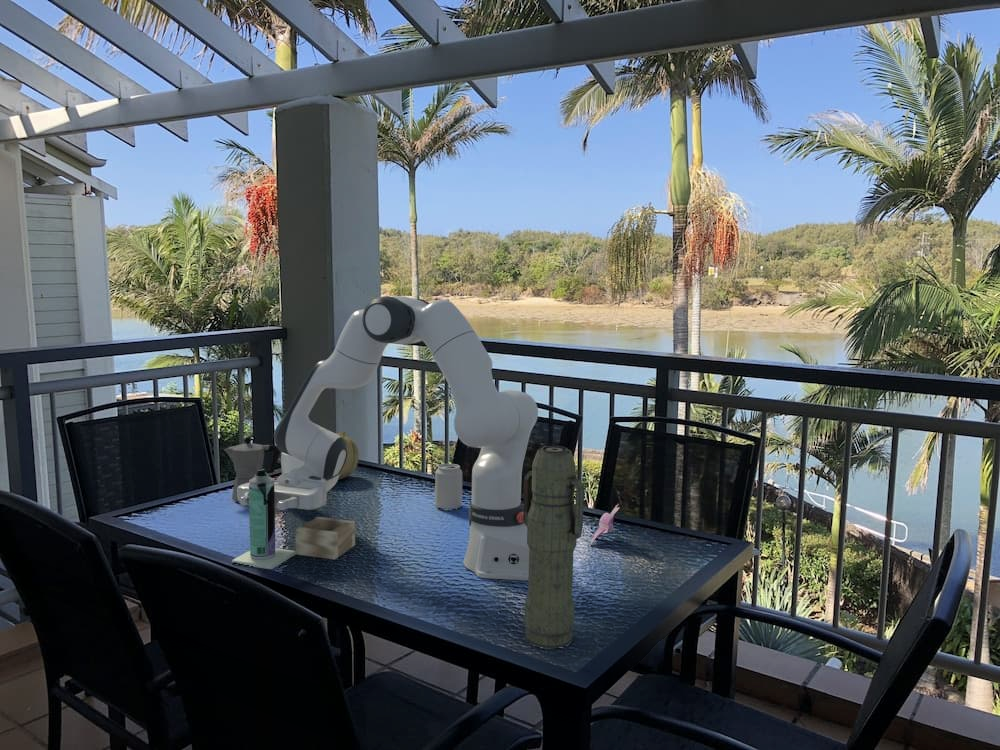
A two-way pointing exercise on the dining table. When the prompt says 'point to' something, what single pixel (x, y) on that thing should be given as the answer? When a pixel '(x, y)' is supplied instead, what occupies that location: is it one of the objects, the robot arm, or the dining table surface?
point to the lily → (606, 524)
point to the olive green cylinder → (551, 545)
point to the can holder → (325, 537)
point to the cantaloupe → (349, 457)
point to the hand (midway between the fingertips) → (261, 504)
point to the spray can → (262, 516)
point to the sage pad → (279, 558)
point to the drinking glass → (289, 462)
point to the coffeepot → (249, 461)
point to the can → (448, 486)
